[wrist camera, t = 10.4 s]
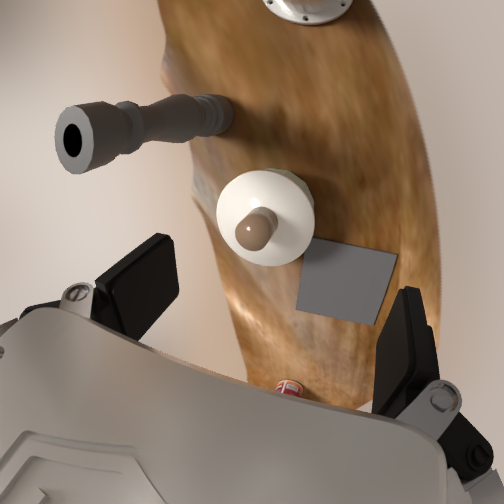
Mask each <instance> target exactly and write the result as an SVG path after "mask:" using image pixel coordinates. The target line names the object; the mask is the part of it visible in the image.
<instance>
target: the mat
mask: <svg viewBox="0 0 504 504" xmlns="http://www.w3.org/2000/svg"><path fill="white" fill-rule="evenodd" d="M396 257H397V254H394V253H390V252H385V251H380V250H375V249H370V248H365V247H360V246H355V245H350V244H345V243H340V242H335V241H330V240H325V239H320V238H314V237H312V239H311V241H310V244H309V245H308V247H307V249H306V250H305V252H304V259H303V266H302V273H301V280H300V286H299V293H298V299H297V306H296V310H300V311H304V312H309V313H313V314H318V315H323V316H327V317H332V318H337V319H342V320H347V321H352V322H357V323H362V324H367V325H372V326H373V325H374V322H375V319H376V317H377V314H378V311H379V309H380V306H381V303H382V300H383V298H384V295H385V292H386V289H387V286H388V283H389V280H390V277H391V274H392V271H393V267H394V264H395V261H396Z"/></svg>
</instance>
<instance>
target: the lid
mask: <svg viewBox="0 0 504 504" xmlns="http://www.w3.org/2000/svg"><path fill="white" fill-rule="evenodd" d="M217 222H218V226H219V229H220V232H221V234H222V236H223V238H224V239H225V241H226V242H227V244H228V245H229V246H230V247H231V248H232V249H233V251H235V252H236V253H237V254H238V255H239V256H241V257H242V258H244V259H246V260H248V261H250V262H252V263H255V264H259V265H264V266H279V265H284V264H287V263H289V262H291V261H293V260H295V259H297V258H298V257H299V256H300V255H301V254H302V253H303V252H304V251H305V250H306V249H307V247H308V245H309V244H310V241H311V239H312V236H313V233H314V228H315V214H314V210H313V206H312V204H311V201H310V199H309V197H308V196H307V194H306V193H305V191H304V190H303V189H302V188H301V187H300V186H299V185H298V184H297V183H296V182H295V181H294V180H292V179H291V178H289V177H288V176H286V175H283V174H281V173H278V172H275V171H271V170H253V171H249V172H246V173H244V174H242V175H240V176H238V177H236V178H235V179H233V180H232V181H231V182H230V183H229V184H228V185H227V186H226V187H225V188H224V190H223V191H222V193H221V195H220V197H219V200H218V204H217Z"/></svg>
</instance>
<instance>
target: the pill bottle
mask: <svg viewBox="0 0 504 504" xmlns="http://www.w3.org/2000/svg"><path fill="white" fill-rule="evenodd" d="M275 391H277V392H280V393H284V394H288V395H292V396H296V397H300V398H301V396H302V392H303V388H302V386H301V385H300V384H299V383H297V382H295V381H293V380H283V381H280V382H279V383H278V384H277V387H276V390H275Z"/></svg>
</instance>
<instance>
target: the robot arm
mask: <svg viewBox="0 0 504 504" xmlns="http://www.w3.org/2000/svg"><path fill="white" fill-rule="evenodd" d="M263 2H264V3H265V5H266V6H267V7H268V8H269V9H270V11H272V12H273V13H274V14H275V15H276V16H278V17H280V18H282V19H283V20H286V21H289V22H291V23H296V24H300V25H318V24H323V23H327V22H330V21H333V20H335V19H337V18H338V17H340V16H342V15H343V14H344V13H345V12H346V11H347V10H348V9H349V7H350V6H351V4H352V2H353V0H263ZM271 3H273V4H271ZM270 4H271V5H270ZM341 5H345V6H341ZM305 19H309V20H308V21H305ZM95 284H96V288H94V289H93V287H92V285H91V284H89V283H84V282H83V283H77V284H74V285H72V286H70V287H68V288H67V289H66V290H65V291H64V293H63V295H62V298H61V300H58V301H53V302H48V303H43V304H38V305H34V306H30V307H27V308H26V309H25V310H24V311H23V313H22V314H21V315H20V318H19V320H18V318H15V319H13V320H11V321H8V322H6V323H4V324H2V325H0V504H504V486H503V484H502V481H501V479H500V477H499V475H498V472H497V470H496V469H495V470H492V468H491V465H492V463H493V458H494V456H493V450H492V446H491V445H490V443H489V442H488V441H487V440H486V439H485V438H484V437H483V436H482V435H481V434H480V433H479V432H478V430H476V428H475V427H473V425H472V424H471V423H470V422H469V421H468V420H467V419H466V418H465V417H464V416H463V415H462V414H461V413H460V412H459V410H460V408H461V406H462V398H461V394H460V392H459V390H458V389H457V388H456V386H455V385H453V384H452V383H450V382H448V381H445V380H440V374H439V367H438V359H437V353H436V347H435V341H434V335H433V330H432V327H431V326H429V325H427V320H426V315H425V310H424V305H423V301H422V296H421V292H420V289H419V288H414V287H409V286H405V287H404V289H399V291H398V293H397V296H396V299H395V301H394V304H393V306H392V308H391V311H390V313H389V316H388V318H387V320H386V323H385V325H384V327H383V329H382V332H381V334H380V336H379V338H378V341H377V345H376V364H375V380H374V393H373V403H372V413H367V412H363V411H359V410H353V409H348V408H343V407H339V406H334V405H329V404H325V403H321V402H317V401H312V400H308V399H304V398H300V397H296V396H292V395H288V394H284V393H280V392H277V391H273V390H270V389H266V388H263V387H259V386H256V385H253V384H249V383H246V382H243V381H240V380H236V379H234V378H231V377H228V376H224V375H222V374H219V373H216V372H213V371H210V370H207V369H205V368H202V367H199V366H196V365H194V364H191V363H189V362H186V361H183V360H180V359H178V358H176V357H173V356H171V355H168V354H166V353H163V352H161V351H158V350H156V349H154V348H152V347H149V346H147V345H145V344H142V343H140V342H138V341H139V339H141V337H142V336H143V335H144V334H145V333H146V331H147V330H148V329H149V328H150V327H151V326H152V325H153V323H154V322H155V321H156V320H157V319H158V318H159V317H160V316H161V314H162V313H163V312H164V311H165V310H166V309H167V308H168V306H169V305H170V304H171V303H172V302H173V301H174V300H175V298H177V296H178V294H179V283H178V276H177V268H176V259H175V250H174V242H173V240H172V239H171V237H170V236H169V235H166V234H161V233H156V234H154V235H153V236H152V237H150V238H149V239H147V240H146V241H145V242H143V243H142V244H141V245H139V246H138V247H137V248H135V249H134V250H133V251H132V252H130V253H129V254H128V255H126V256H125V257H124V258H122V259H121V260H120V261H119V262H117V263H116V264H115V265H113V266H112V267H111V268H110V269H108V270H107V271H106V272H105V273H103V274H102V275H101V276H100V277H98V278H97V279H96V280H95Z"/></svg>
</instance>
